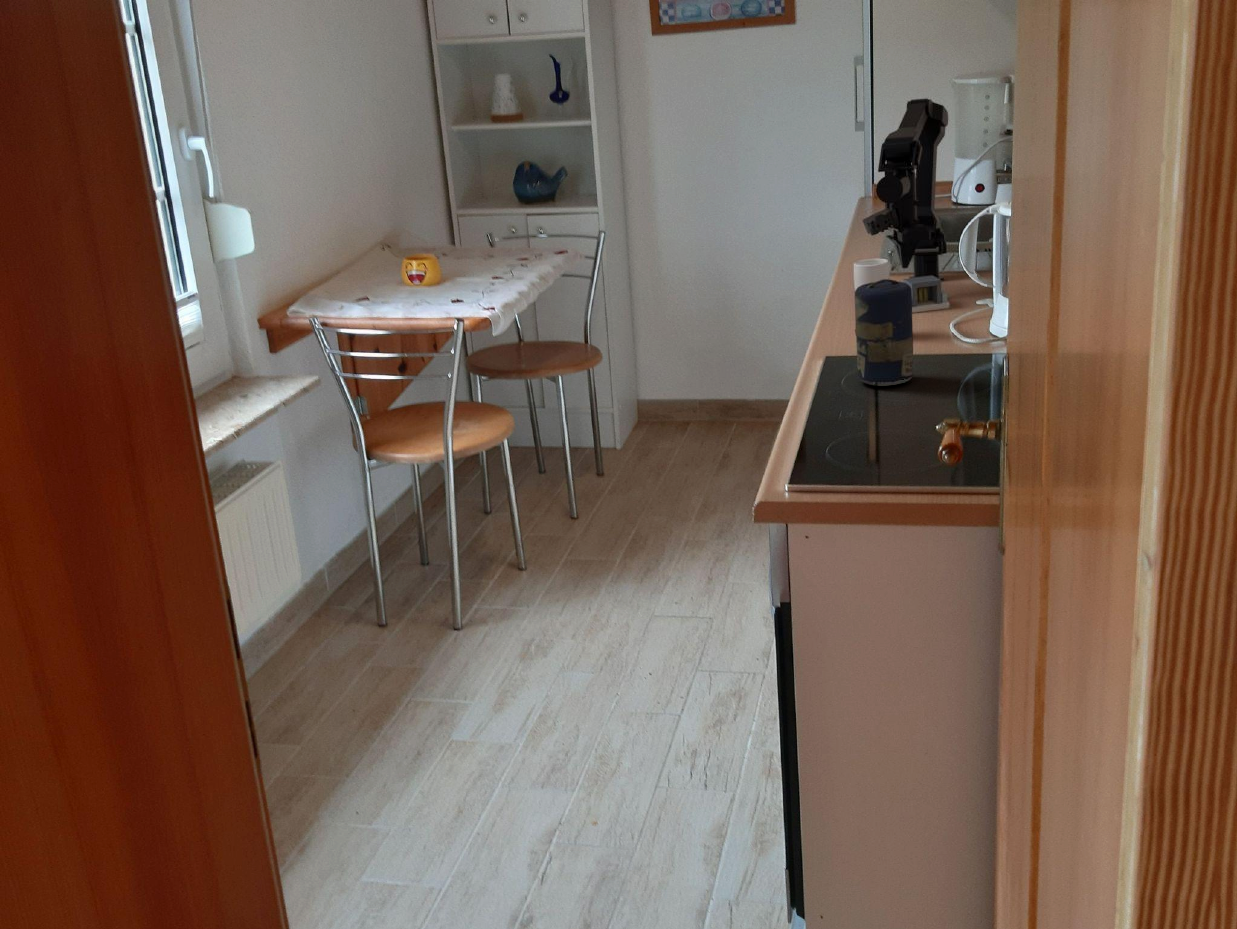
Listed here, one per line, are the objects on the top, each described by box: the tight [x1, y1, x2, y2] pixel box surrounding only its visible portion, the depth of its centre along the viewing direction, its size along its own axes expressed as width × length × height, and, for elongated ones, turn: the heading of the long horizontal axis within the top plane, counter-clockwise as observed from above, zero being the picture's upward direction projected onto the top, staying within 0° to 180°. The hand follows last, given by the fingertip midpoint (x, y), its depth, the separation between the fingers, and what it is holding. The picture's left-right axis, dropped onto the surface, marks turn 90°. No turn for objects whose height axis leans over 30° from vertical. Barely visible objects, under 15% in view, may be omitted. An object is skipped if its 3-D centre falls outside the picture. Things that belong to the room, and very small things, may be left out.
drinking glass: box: [853, 258, 891, 292], centre depth 234 cm, size 7×7×15 cm
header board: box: [912, 287, 950, 314], centre depth 260 cm, size 18×11×4 cm, turn 5°
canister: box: [854, 278, 915, 383], centre depth 204 cm, size 10×10×18 cm
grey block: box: [903, 275, 942, 307], centre depth 253 cm, size 6×6×5 cm
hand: (904, 268), depth 263 cm, fingers closed
